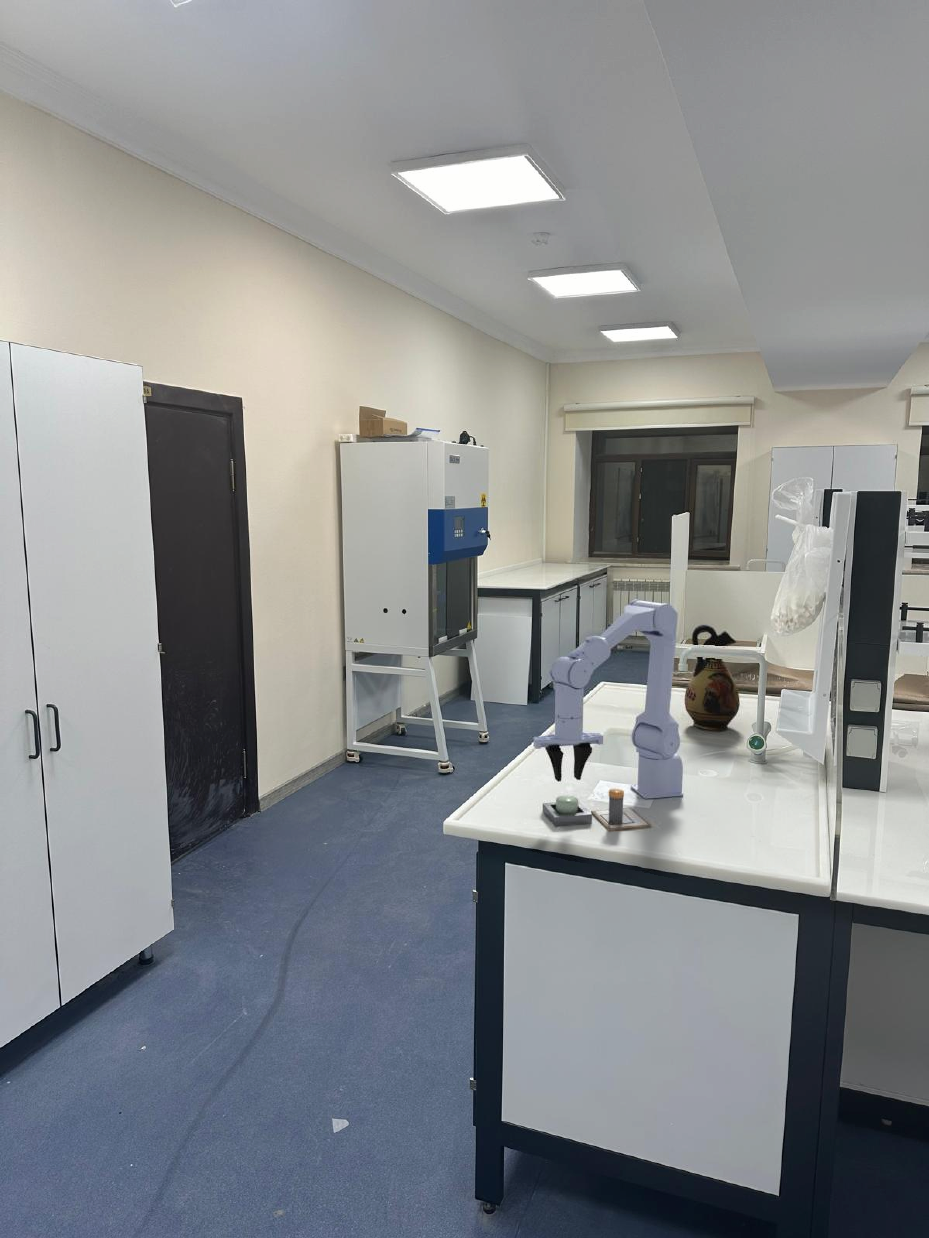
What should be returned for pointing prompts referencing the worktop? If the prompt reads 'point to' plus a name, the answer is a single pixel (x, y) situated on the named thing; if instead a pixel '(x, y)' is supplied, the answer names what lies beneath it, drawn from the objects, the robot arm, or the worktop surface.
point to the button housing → (567, 815)
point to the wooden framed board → (629, 820)
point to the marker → (616, 806)
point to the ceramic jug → (712, 687)
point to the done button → (566, 805)
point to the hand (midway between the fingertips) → (567, 779)
